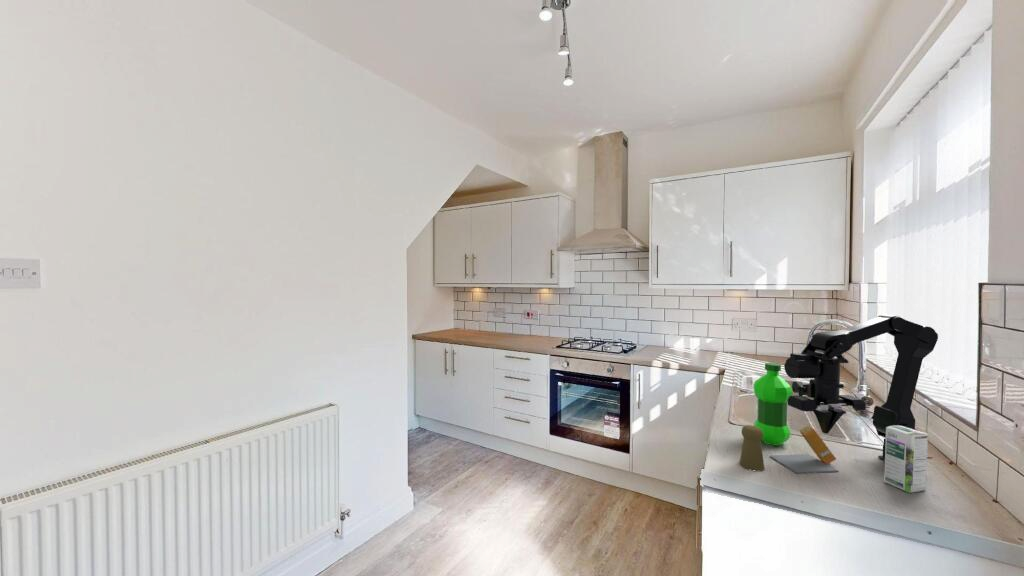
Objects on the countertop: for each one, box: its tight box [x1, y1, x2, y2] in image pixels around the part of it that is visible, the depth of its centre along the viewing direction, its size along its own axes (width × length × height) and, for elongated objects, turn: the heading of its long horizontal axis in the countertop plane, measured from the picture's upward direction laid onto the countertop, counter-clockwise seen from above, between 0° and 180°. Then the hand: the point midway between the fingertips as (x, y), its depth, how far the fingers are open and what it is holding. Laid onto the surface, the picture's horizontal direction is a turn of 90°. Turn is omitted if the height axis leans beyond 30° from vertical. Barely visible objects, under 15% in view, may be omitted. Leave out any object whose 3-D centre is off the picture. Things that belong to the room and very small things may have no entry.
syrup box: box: [883, 425, 929, 494], centre depth 100 cm, size 6×6×14 cm
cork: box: [739, 424, 765, 472], centre depth 111 cm, size 6×6×11 cm
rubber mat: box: [769, 453, 839, 474], centre depth 113 cm, size 12×10×1 cm
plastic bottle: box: [752, 362, 793, 446], centre depth 127 cm, size 10×11×25 cm
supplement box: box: [799, 425, 837, 465], centre depth 114 cm, size 3×3×10 cm
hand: (825, 433), depth 113 cm, fingers closed
